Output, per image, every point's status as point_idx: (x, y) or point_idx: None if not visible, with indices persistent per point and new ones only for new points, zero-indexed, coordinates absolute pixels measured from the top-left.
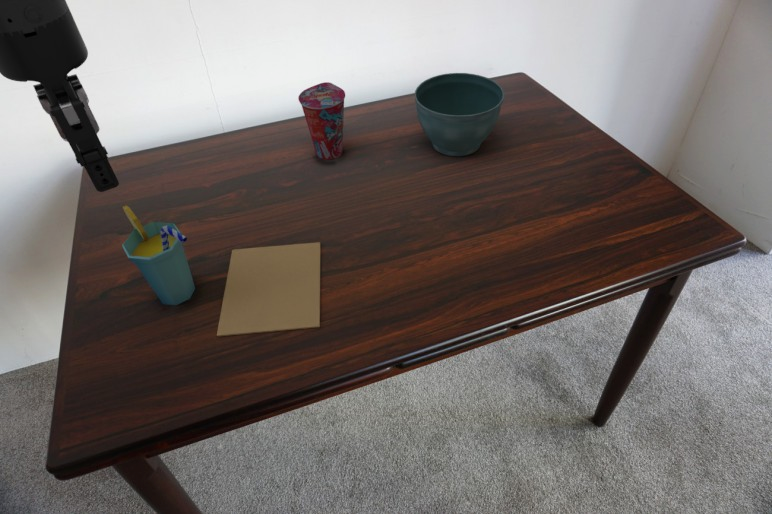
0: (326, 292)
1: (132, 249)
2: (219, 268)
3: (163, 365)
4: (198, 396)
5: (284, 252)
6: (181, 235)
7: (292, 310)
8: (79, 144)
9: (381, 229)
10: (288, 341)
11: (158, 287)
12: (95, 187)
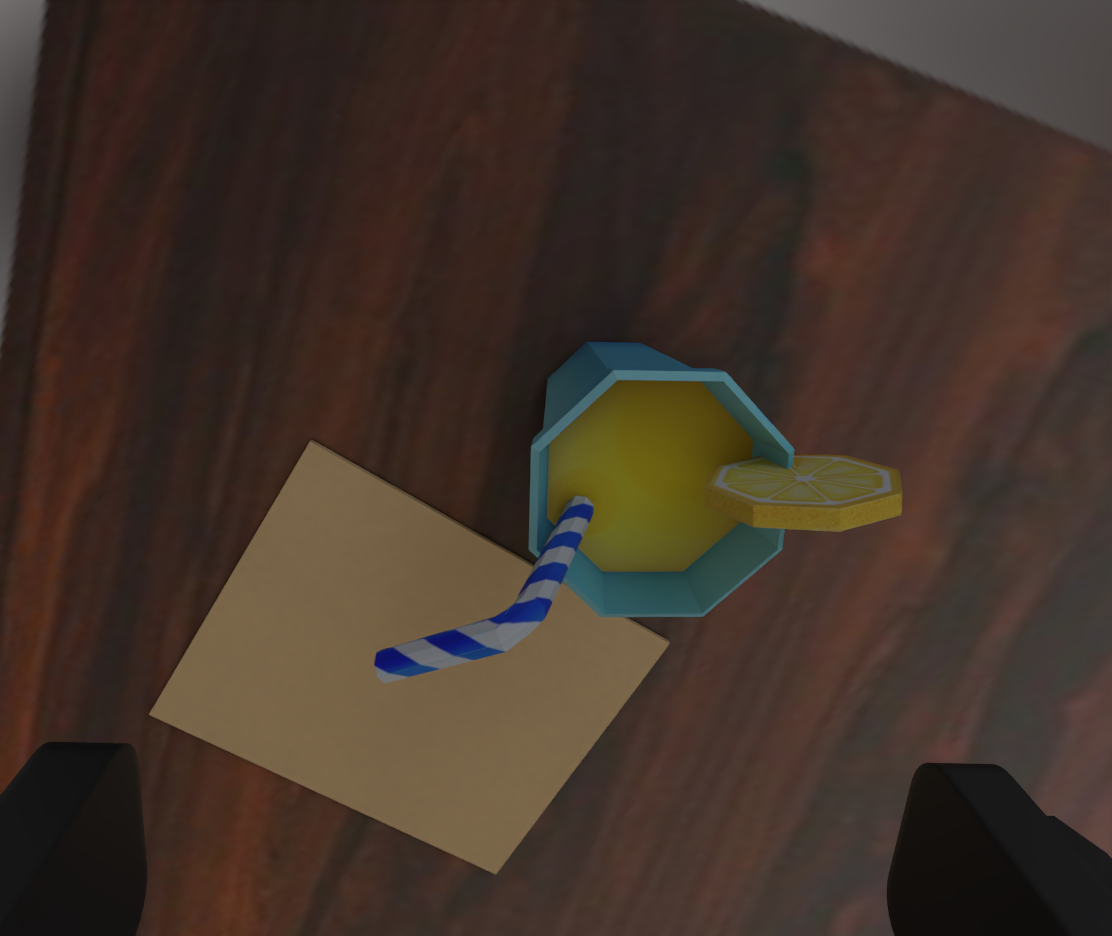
0: (279, 788)
1: (715, 394)
2: None
3: (300, 237)
4: (98, 288)
5: (529, 770)
6: (400, 673)
7: (262, 680)
8: (982, 855)
9: None
10: (154, 612)
11: (572, 376)
12: (21, 771)
